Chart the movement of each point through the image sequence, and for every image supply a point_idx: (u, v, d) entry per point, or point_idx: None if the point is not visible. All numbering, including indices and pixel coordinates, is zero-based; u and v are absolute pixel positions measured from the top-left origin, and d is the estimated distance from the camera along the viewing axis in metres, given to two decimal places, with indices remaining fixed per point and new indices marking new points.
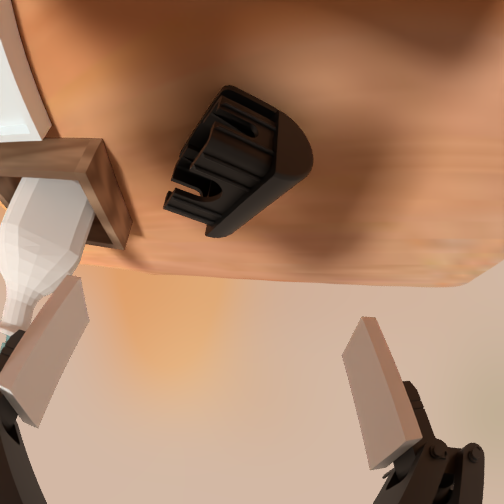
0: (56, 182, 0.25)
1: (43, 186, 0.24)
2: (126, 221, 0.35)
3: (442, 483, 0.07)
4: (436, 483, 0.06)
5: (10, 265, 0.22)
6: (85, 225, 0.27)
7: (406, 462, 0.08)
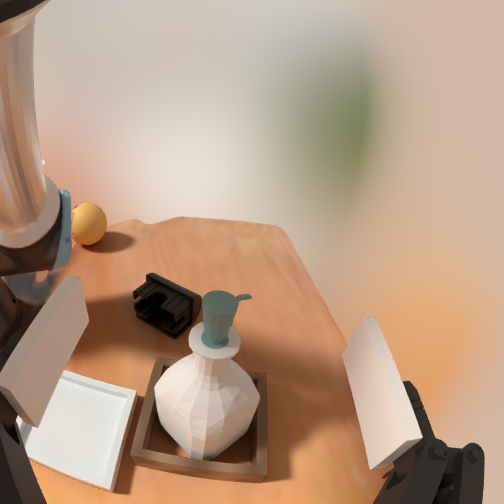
0: None
1: None
2: None
3: (442, 483, 0.07)
4: (436, 483, 0.06)
5: (174, 371, 0.29)
6: None
7: (406, 462, 0.08)
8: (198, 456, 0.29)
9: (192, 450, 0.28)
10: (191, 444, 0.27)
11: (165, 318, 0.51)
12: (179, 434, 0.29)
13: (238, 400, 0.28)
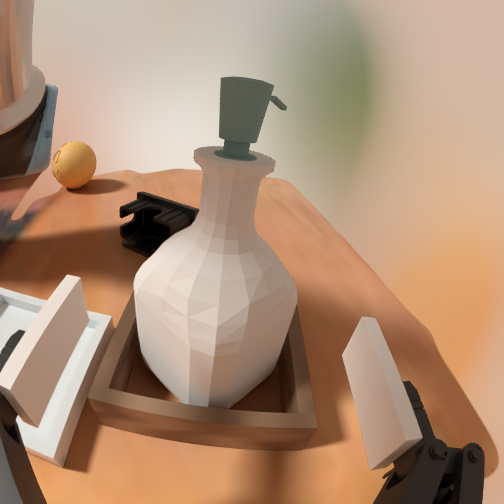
0: None
1: None
2: None
3: (442, 483, 0.07)
4: (436, 483, 0.06)
5: (166, 242, 0.20)
6: None
7: (406, 462, 0.08)
8: (201, 404, 0.19)
9: (190, 389, 0.19)
10: (189, 374, 0.18)
11: None
12: (169, 361, 0.19)
13: (270, 280, 0.18)
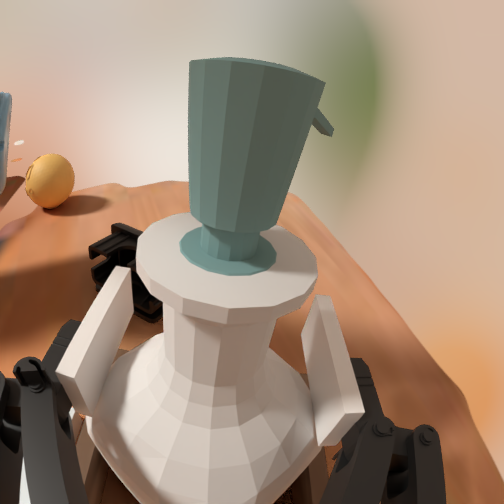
0: None
1: None
2: None
3: (394, 466, 0.08)
4: (386, 462, 0.07)
5: (120, 371, 0.11)
6: None
7: (351, 442, 0.09)
8: None
9: None
10: None
11: (138, 292, 0.32)
12: None
13: (291, 445, 0.09)
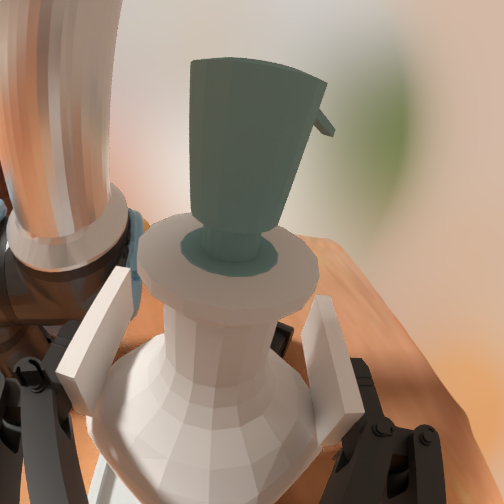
0: None
1: None
2: None
3: (394, 466, 0.08)
4: (386, 462, 0.07)
5: (120, 372, 0.11)
6: None
7: (351, 442, 0.09)
8: None
9: None
10: None
11: None
12: None
13: (292, 446, 0.09)
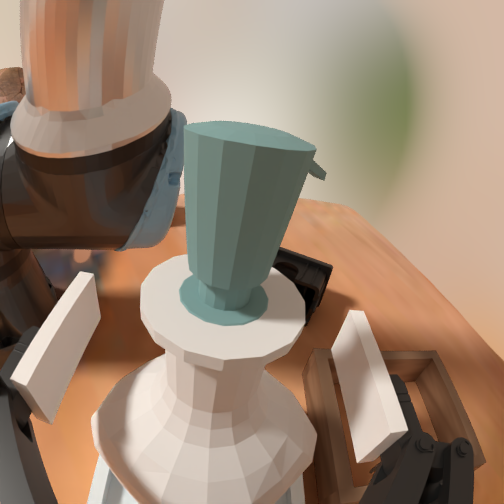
0: None
1: None
2: None
3: (430, 478, 0.07)
4: (424, 477, 0.06)
5: (124, 392, 0.11)
6: None
7: (392, 456, 0.08)
8: None
9: None
10: None
11: None
12: None
13: (283, 460, 0.10)
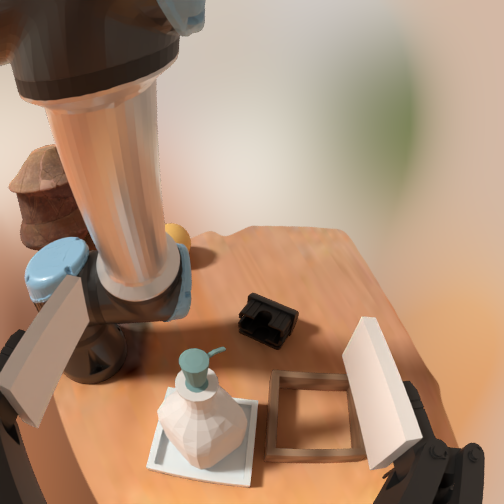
0: None
1: None
2: None
3: (442, 483, 0.07)
4: (436, 483, 0.06)
5: (171, 401, 0.33)
6: None
7: (406, 462, 0.08)
8: (196, 466, 0.34)
9: (190, 461, 0.33)
10: (188, 458, 0.32)
11: (266, 331, 0.60)
12: (179, 448, 0.33)
13: (223, 426, 0.31)
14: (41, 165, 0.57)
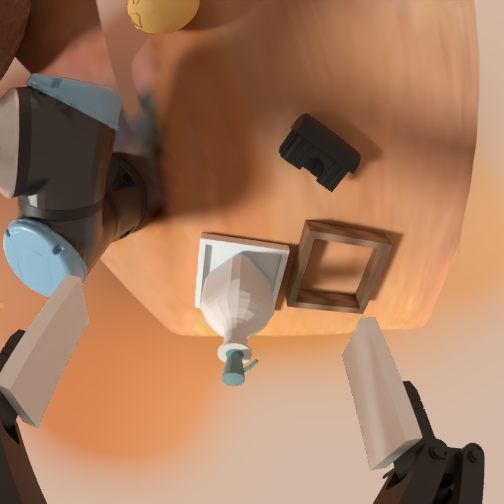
0: (215, 272, 0.52)
1: (209, 279, 0.51)
2: (376, 235, 0.51)
3: (442, 483, 0.07)
4: (436, 483, 0.06)
5: (212, 319, 0.45)
6: (238, 267, 0.48)
7: (406, 462, 0.08)
8: None
9: None
10: None
11: None
12: None
13: (254, 334, 0.47)
14: None
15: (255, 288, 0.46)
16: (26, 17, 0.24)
